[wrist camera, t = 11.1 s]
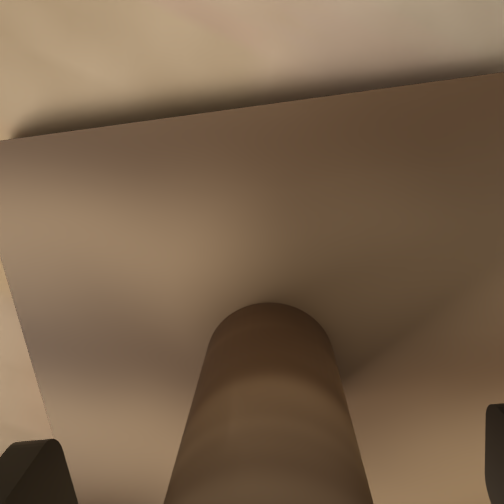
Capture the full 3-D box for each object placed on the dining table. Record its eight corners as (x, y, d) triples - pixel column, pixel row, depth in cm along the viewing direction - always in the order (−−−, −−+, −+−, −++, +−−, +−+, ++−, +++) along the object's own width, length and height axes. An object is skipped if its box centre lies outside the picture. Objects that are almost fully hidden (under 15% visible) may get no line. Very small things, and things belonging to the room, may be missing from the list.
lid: (-13, 143, 12) (-538, 187, 4) (513, 71, 11) (1102, -45, 3) (99, 539, 15) (-71, 950, 8) (500, 513, 14) (759, 958, 7)
